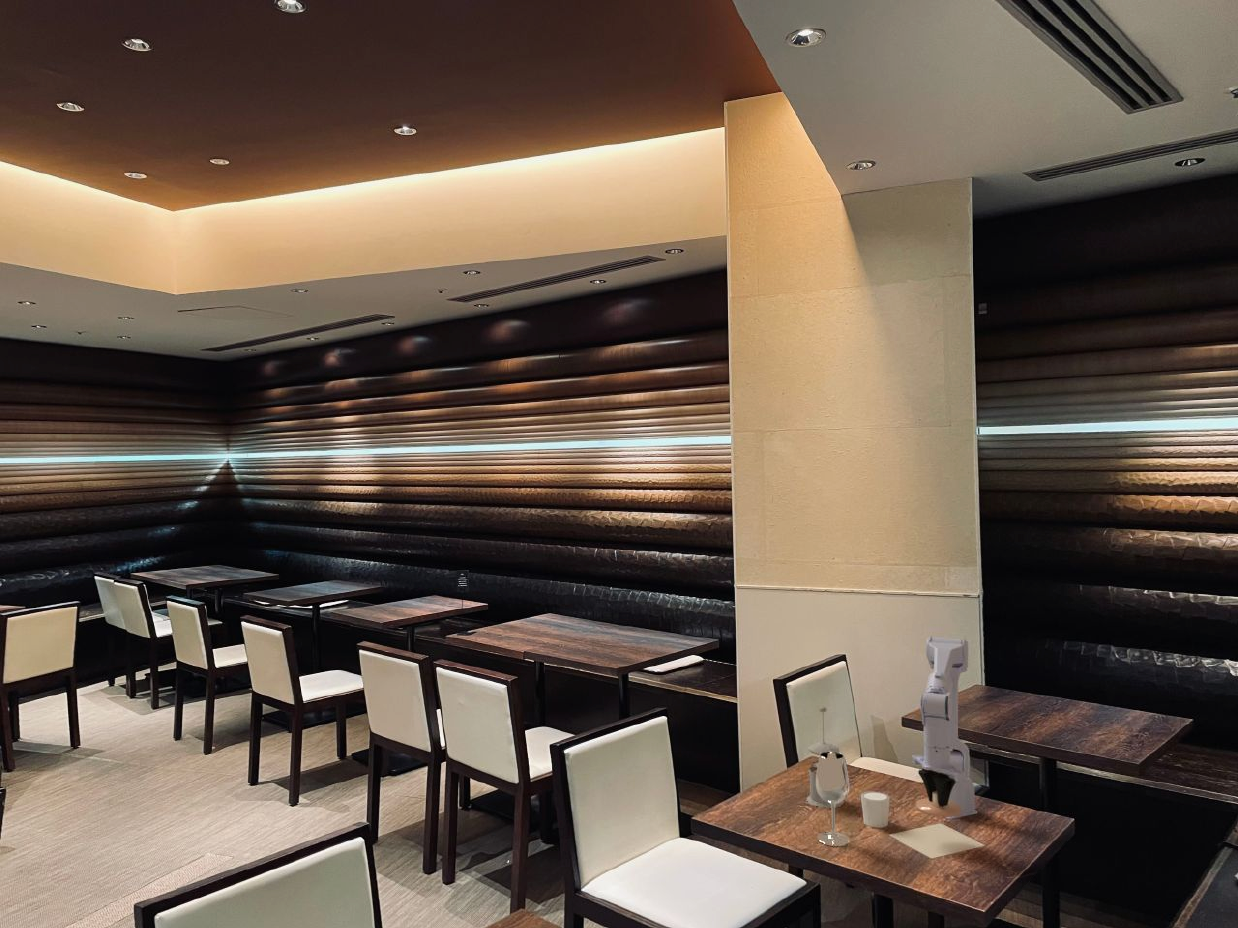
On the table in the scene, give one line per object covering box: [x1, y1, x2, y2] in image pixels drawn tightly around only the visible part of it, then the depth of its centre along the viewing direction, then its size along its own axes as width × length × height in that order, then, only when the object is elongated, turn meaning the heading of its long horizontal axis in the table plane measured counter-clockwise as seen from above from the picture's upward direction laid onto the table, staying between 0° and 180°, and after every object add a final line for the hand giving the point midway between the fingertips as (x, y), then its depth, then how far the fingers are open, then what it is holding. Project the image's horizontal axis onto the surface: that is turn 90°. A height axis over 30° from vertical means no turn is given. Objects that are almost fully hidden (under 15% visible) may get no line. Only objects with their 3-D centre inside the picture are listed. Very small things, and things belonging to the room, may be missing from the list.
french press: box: [806, 706, 847, 809], centre depth 225 cm, size 10×12×25 cm
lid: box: [915, 791, 961, 818], centre depth 197 cm, size 10×10×4 cm
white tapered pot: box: [860, 791, 890, 828], centre depth 208 cm, size 7×7×7 cm
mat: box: [888, 823, 986, 860], centre depth 198 cm, size 16×14×1 cm
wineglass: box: [815, 752, 851, 847], centre depth 200 cm, size 8×8×20 cm
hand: (938, 803), depth 197 cm, fingers closed on lid, 2 cm apart
